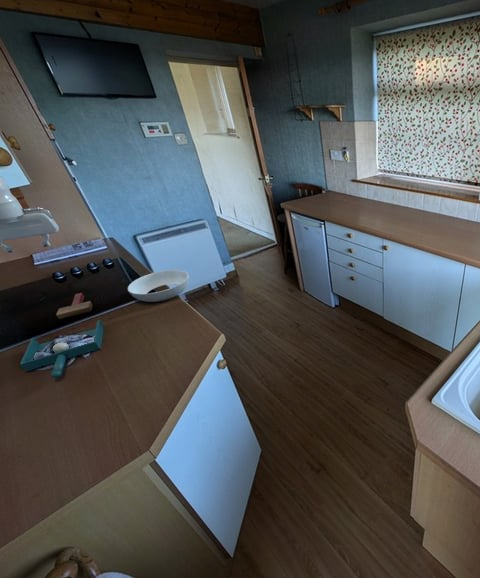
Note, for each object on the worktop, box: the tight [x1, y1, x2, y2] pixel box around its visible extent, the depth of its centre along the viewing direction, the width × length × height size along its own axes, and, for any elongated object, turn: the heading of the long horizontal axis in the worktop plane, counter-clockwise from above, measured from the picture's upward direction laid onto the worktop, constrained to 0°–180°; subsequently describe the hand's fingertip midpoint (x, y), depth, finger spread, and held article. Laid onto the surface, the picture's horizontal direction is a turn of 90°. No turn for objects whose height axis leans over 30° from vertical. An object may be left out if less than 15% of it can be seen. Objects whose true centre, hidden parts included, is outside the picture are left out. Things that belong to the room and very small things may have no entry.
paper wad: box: [53, 342, 69, 353], centre depth 93 cm, size 4×4×4 cm
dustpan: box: [19, 319, 105, 379], centre depth 92 cm, size 24×17×3 cm
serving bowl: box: [127, 269, 190, 303], centre depth 123 cm, size 21×21×7 cm
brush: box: [56, 292, 94, 320], centre depth 114 cm, size 15×9×4 cm, turn 36°
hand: (29, 248), depth 106 cm, fingers open, 8 cm apart
